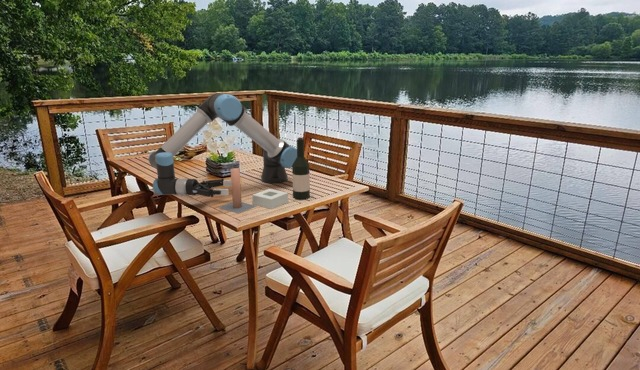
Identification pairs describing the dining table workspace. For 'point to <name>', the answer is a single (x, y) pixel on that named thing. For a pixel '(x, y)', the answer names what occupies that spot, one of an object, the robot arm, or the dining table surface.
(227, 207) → the mat
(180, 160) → the dining table surface
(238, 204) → the dowel
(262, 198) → the socket block
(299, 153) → the wine bottle
